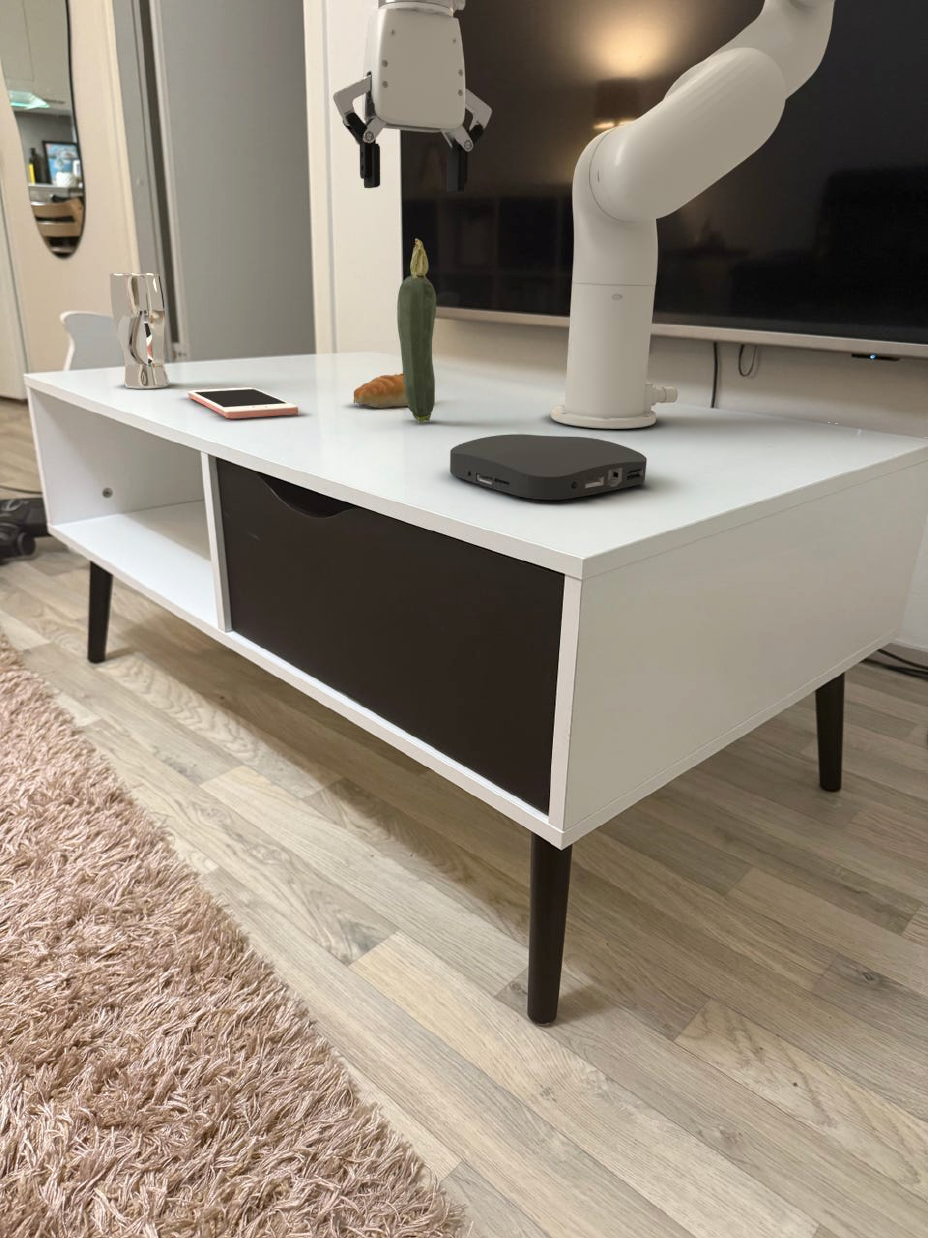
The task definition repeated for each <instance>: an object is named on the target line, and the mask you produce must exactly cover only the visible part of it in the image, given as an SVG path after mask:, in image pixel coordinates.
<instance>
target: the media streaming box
mask: <svg viewBox="0 0 928 1238" xmlns="http://www.w3.org/2000/svg"><path fill="white" fill-rule="evenodd" d="M647 461H648V458H647V457H646V456H645V455H644V454H642V453H641V452H639V451H637V450H635V449H633V448H630V447H628V446H625V445H622V444H619V443H616V442H613V441H610V440H605V439H600V438H594V437H587V436H570V435H569V436H567V435H566V436H564V435H563V436H562V435H561V436H560V435H538V434H522V433H516V434H515V433H512V434H498V435H491V436H485V437H480V438H476V439H472V440H468V441H465V442H463V443H459V444H457V445H456V446H454V447H452V448H451V449H450V451H449V473H450V475H452V476H454V477H457V478H460V479H463V480H465V481H469V482H472V483H474V484H476V485H479V486H480V485H481V486H483V487H486V488H490V489H493V490H496V491H499V492H503V493H507V494H509V495H513V496H517V497H521V498H526V499H533V500H548V501H549V500H550V501H551V500H553V501H554V500H556V501H557V500H558V501H559V500H570V499H574V498H581V497H586V496H592V495H597V494H601V493H607V492H611V491H616V490H621V489H625V488H629V487H635V486H640V485H642V484H643V483H644V482H645V480H646V471H647Z"/></svg>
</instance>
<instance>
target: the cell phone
mask: <svg viewBox="0 0 928 1238" xmlns="http://www.w3.org/2000/svg"><path fill="white" fill-rule="evenodd" d="M187 395H188V396H187V397H188V398H190V399H192V400H194V401H195V402H197V403H199V404H201V405H204V406H205V407H207V408H208V409H210V410H212V411H214V412H216V413H218V414H219V415H221V416H223V417H225V418H226V419H246V418H260V417H271V416H272V417H274V416H275V417H276V416H288V415H297V414H299V406H298V405H296V404H293V403H291V402H289V401H286V400H284V399H281V398H280V397H277V396H275V395H272V394H270V393H267V392H265V391H262V390H260V389H258V388H255V387H251V386H250V387H248V386H247V387H246V386H245V387H230V388H229V387H228V388H227V387H226V388H209V389H193V390H188V391H187Z"/></svg>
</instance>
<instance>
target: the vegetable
mask: <svg viewBox="0 0 928 1238" xmlns="http://www.w3.org/2000/svg"><path fill="white" fill-rule="evenodd" d="M414 241H415V242H414V244H415V245H414V247H413V249H412V256H411V261H410V266H409V267H410V268H409V269H410V275H409V276H407V277H406V278H405V279H404V280H403V281H402V283H401V285H400V287H399V290H398V294H397V295H398V296H397V302H396V315H397V317H396V318H397V319H396V321H397V331H398V337H399V343H400V344H399V345H400V353H401V354H400V355H401V364H402V365H401V366H402V373H403V380H404V388H405V393H406V398H407V403H408V406H407V407H408V410H409V411H410V413H411V414H412V417H413V418H414V419H415V420H416V422H417V423H421V422H427V423H428V422H430V419H431V416H432V412H433V410H434V406H435V399H436V380H435V379H436V378H435V370H434V364H433V337H434V336H433V335H434V329H435V321H436V315H437V314H436V313H437V295H436V290H435V287H434V286H433V283H432V282H431V281H430V280H429V279H428V278H427V277H426V274H427V273H428V271H429V261H428V256H427V254H426V250H425V248H424V243H423V242H422V240H420V239H418V238H415V239H414Z"/></svg>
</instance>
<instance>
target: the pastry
mask: <svg viewBox="0 0 928 1238" xmlns="http://www.w3.org/2000/svg"><path fill="white" fill-rule="evenodd" d="M352 401H353V404H363V405H366V406H369V407H373V408H375V409H377V408H378V409H384V408H394V407H408V403H407V398H406V393H405V388H404V380H403V372H402V373H399V374H396V373H395V374H393V375H391V374H384V375H380V376H378V377H374V378H373V379H371V380H370V381H368V382H365V383H363V384H362V385H360V386H359V387H357V388H356V389H355V390H353V400H352Z"/></svg>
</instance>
